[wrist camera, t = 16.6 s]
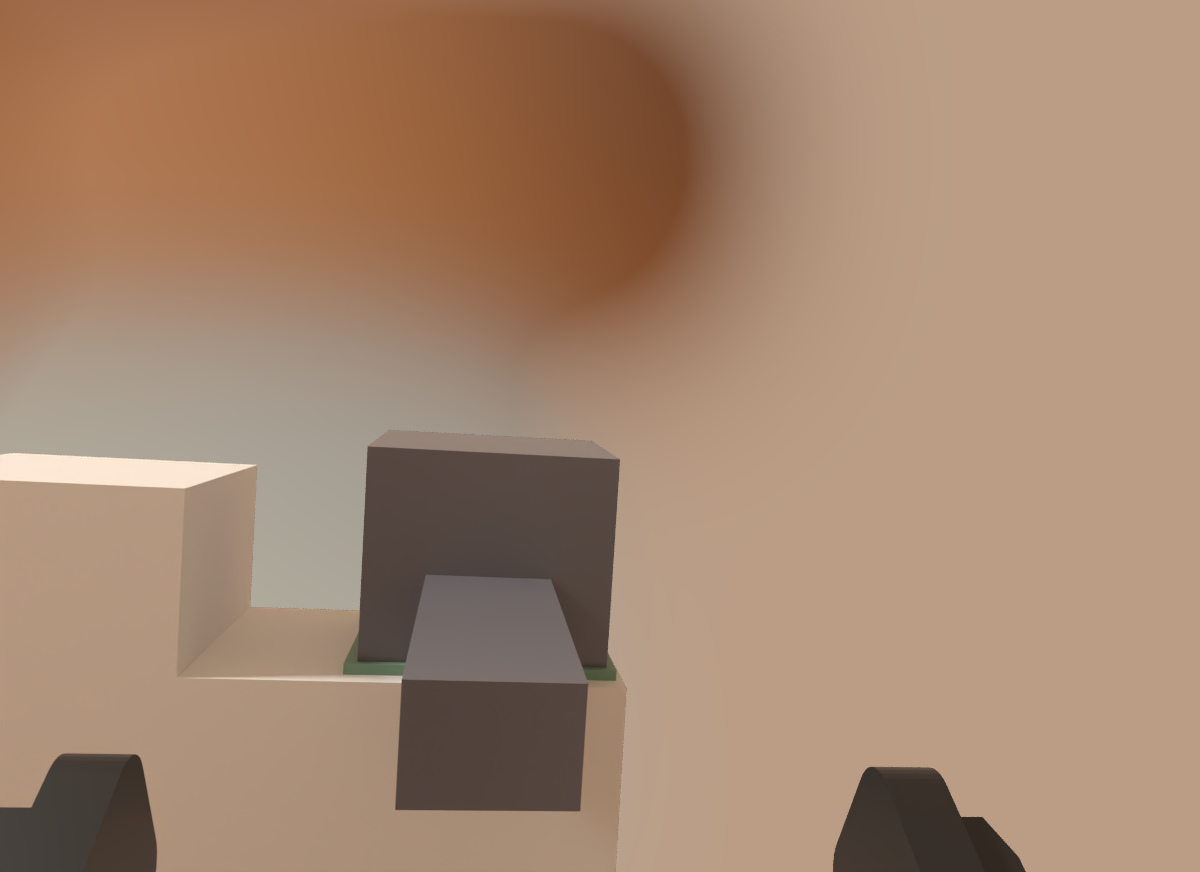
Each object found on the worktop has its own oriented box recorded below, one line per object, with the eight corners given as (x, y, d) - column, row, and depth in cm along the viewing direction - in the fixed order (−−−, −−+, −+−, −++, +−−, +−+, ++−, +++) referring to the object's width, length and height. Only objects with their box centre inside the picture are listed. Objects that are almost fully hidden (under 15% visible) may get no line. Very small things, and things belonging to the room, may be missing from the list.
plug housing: (299, 809, 19) (313, 488, 18) (380, 602, 35) (388, 430, 35) (670, 812, 20) (690, 505, 19) (581, 608, 36) (591, 440, 36)
